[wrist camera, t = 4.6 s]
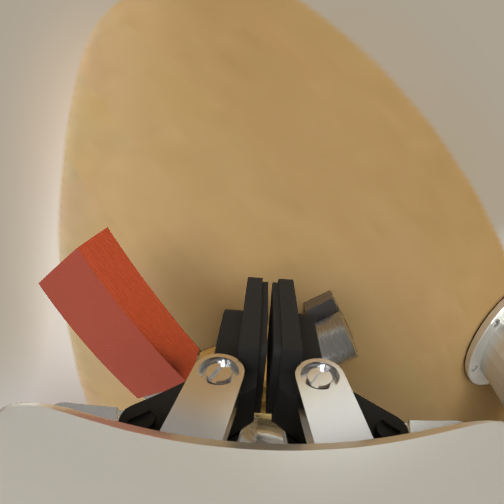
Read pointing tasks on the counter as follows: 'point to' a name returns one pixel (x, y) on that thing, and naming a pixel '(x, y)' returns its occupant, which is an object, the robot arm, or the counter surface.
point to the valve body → (319, 337)
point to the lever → (129, 324)
